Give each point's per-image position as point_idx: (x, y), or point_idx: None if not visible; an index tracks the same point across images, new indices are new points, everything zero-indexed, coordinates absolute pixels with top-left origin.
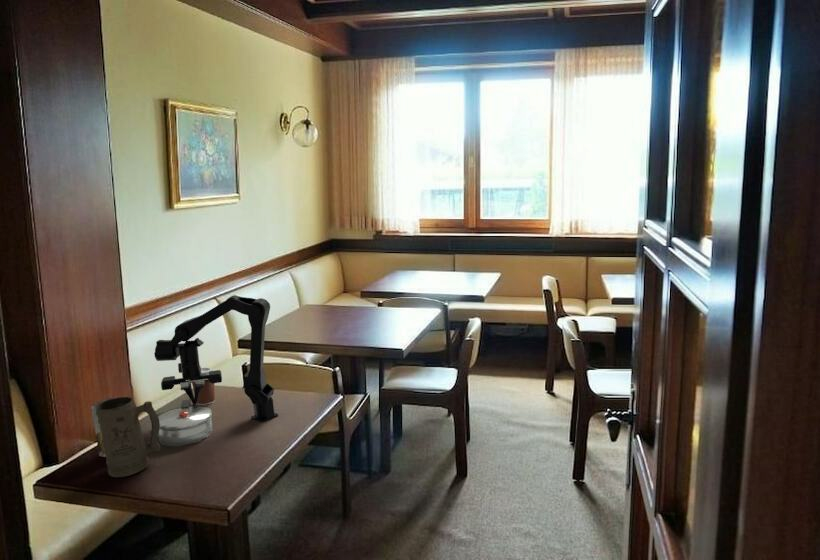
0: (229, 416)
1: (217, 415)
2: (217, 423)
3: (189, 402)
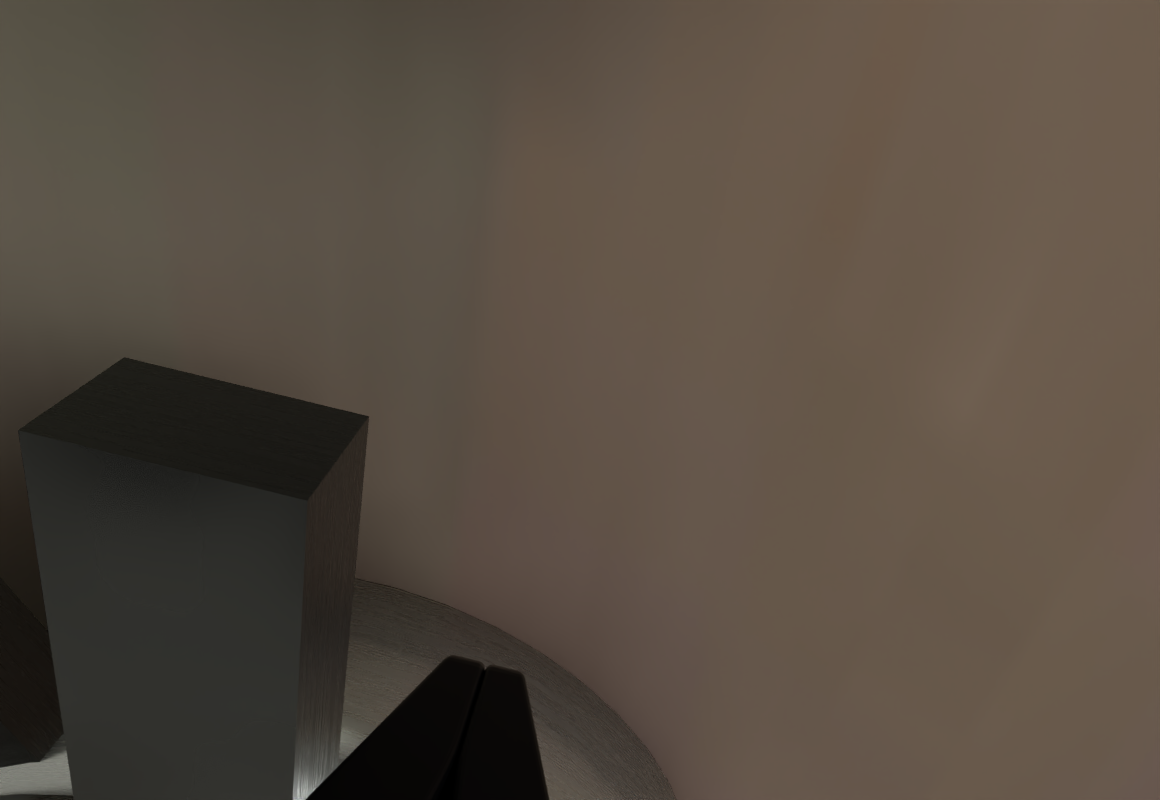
0: (1144, 634)
1: (989, 445)
2: (828, 762)
3: (291, 761)
